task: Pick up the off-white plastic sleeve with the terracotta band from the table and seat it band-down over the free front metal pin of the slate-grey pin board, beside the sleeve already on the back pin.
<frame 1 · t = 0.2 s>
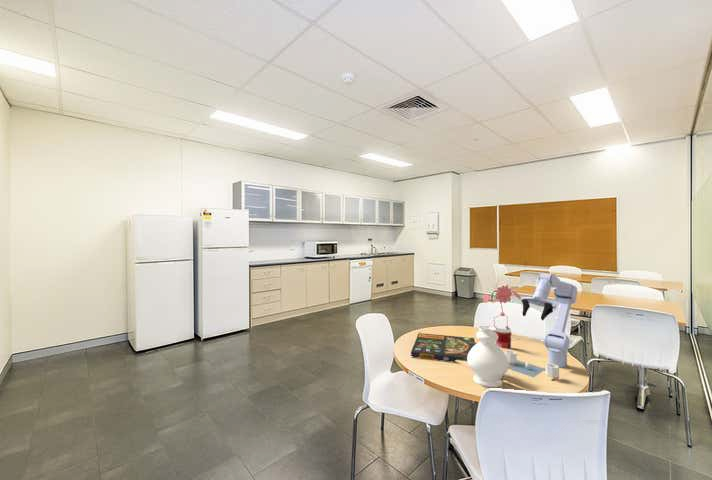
hand: (532, 317, 137), 31 cm above the table, tool tilted 45°, fingers open, 7 cm apart
potted flower: (504, 337, 201), on the table
seated sleeve: (510, 363, 156), point 1 cm above the table, touching pin board
pin board: (519, 369, 152), on the table
sleeve: (552, 378, 142), on the table
pizza box: (444, 350, 180), on the table
decorative vase: (487, 381, 140), on the table
canned food: (503, 348, 181), on the table
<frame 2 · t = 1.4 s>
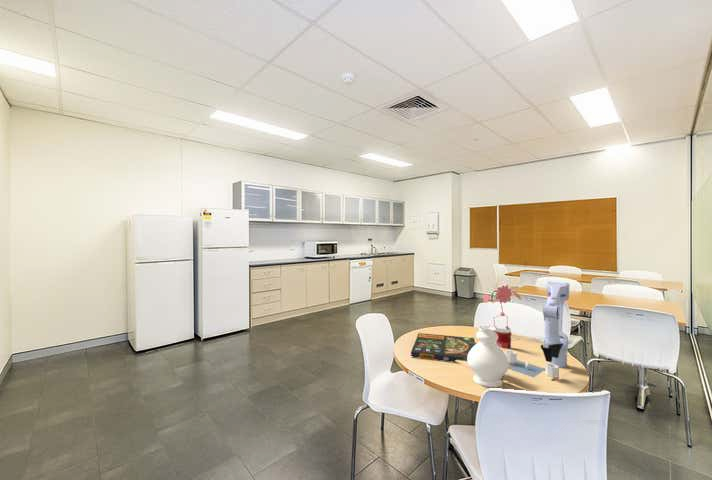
hand: (552, 359, 142), 9 cm above the table, tool pointing down, fingers open, 7 cm apart
nothing on the table moved.
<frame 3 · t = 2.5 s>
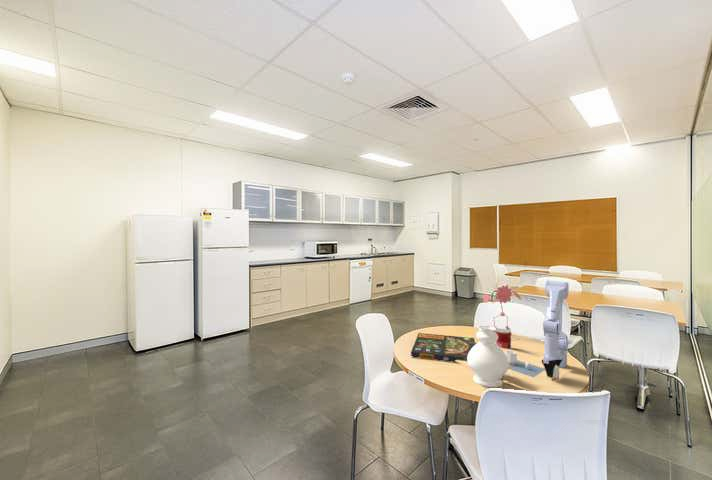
hand: (552, 374, 142), 2 cm above the table, tool pointing down, fingers closed on sleeve, 5 cm apart
sleeve: (552, 378, 142), on the table, touching gripper
everything else where it was.
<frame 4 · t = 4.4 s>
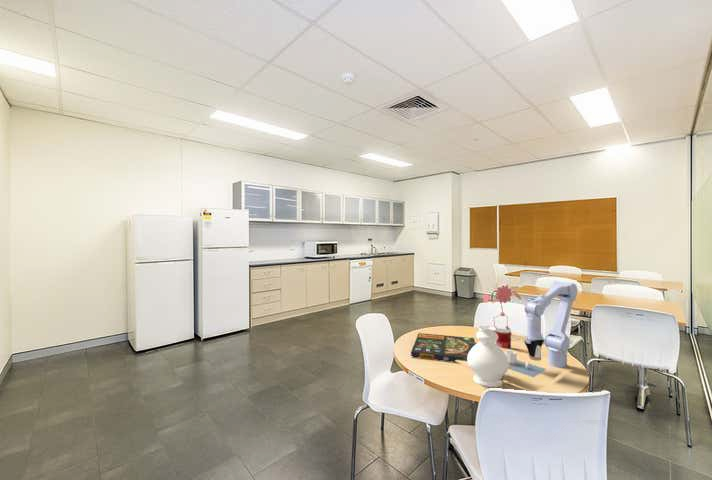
hand: (534, 354, 147), 9 cm above the table, tool pointing down, fingers closed on sleeve, 5 cm apart
sleeve: (534, 358, 147), point 8 cm above the table, touching gripper
everything else where it was.
when the fingers open (4 cm above the table, at t = 6.4 s): sleeve stays where it is, resting on pin board.
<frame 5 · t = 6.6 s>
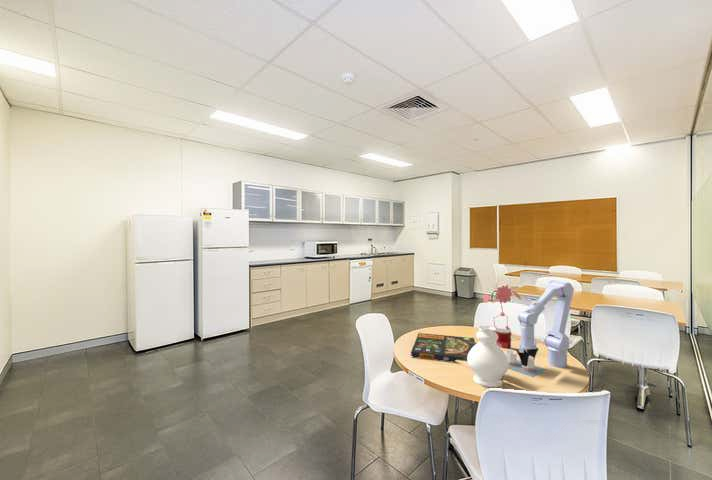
hand: (527, 363, 149), 4 cm above the table, tool pointing down, fingers open, 7 cm apart
sleeve: (528, 369, 149), point 1 cm above the table, touching pin board
everything else where it was.
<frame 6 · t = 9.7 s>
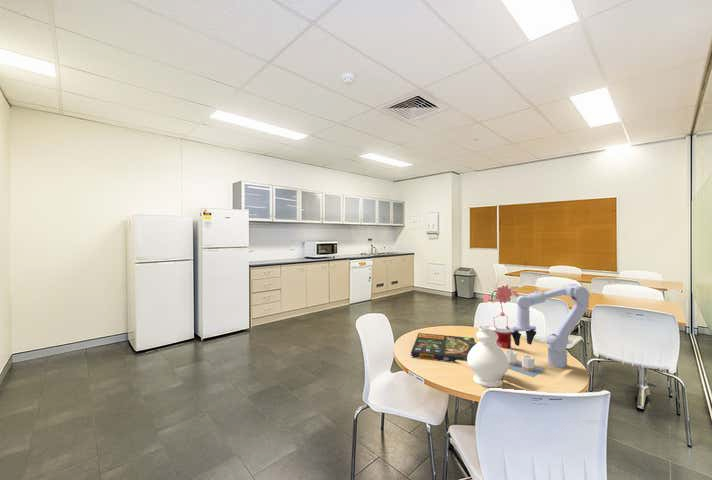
hand: (523, 344, 158), 10 cm above the table, tool pointing down, fingers open, 7 cm apart
nothing on the table moved.
at the end: sleeve 0.1 cm from the target spot on the pin board, point 1.5 cm above the pin board's base; sleeve tilted 0°; the gripper is holding nothing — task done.
